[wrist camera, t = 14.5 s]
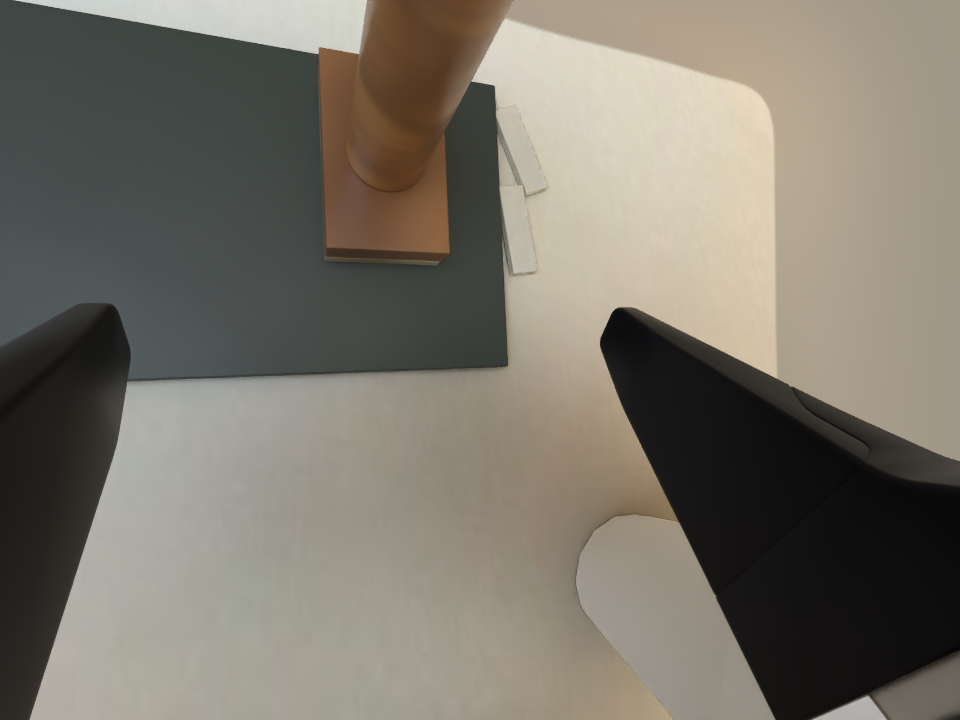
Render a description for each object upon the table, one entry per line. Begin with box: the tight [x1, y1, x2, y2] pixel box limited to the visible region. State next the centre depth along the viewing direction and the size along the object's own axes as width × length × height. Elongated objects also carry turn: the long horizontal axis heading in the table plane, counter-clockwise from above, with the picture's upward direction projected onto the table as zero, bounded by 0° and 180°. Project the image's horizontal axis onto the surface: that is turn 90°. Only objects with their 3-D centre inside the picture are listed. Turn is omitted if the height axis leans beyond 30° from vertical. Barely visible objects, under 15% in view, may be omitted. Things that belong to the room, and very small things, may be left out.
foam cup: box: [576, 514, 886, 720], centre depth 20 cm, size 10×9×13 cm
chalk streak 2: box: [499, 185, 538, 275], centre depth 24 cm, size 1×4×1 cm, turn 10°
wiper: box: [318, 0, 514, 265], centre depth 15 cm, size 5×8×13 cm, turn 2°
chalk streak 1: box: [496, 105, 548, 197], centre depth 25 cm, size 1×4×1 cm, turn 24°
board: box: [0, 0, 508, 381], centre depth 20 cm, size 22×14×1 cm, turn 92°
